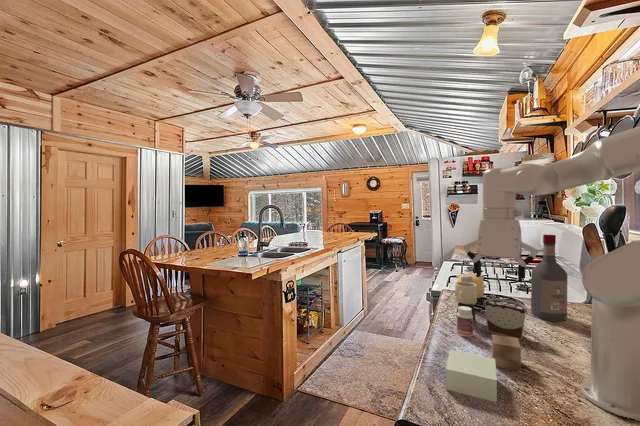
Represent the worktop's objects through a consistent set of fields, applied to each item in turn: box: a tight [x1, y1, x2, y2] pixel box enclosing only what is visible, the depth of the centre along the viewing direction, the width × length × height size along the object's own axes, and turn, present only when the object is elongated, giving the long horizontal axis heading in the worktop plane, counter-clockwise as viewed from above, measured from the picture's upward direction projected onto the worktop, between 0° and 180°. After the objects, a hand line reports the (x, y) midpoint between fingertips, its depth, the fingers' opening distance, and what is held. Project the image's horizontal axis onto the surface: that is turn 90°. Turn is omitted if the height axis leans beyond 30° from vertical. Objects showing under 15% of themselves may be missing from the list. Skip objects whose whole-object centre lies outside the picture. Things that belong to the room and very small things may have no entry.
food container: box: [482, 298, 529, 340], centre depth 99 cm, size 12×6×10 cm, turn 47°
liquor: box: [530, 234, 568, 322], centre depth 111 cm, size 9×9×30 cm
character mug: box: [454, 281, 478, 322], centre depth 109 cm, size 11×7×13 cm, turn 135°
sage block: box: [445, 349, 498, 403], centre depth 71 cm, size 10×10×5 cm
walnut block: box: [491, 333, 522, 372], centre depth 80 cm, size 6×6×6 cm
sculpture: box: [455, 272, 485, 299], centre depth 136 cm, size 11×12×11 cm
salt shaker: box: [461, 275, 475, 307], centre depth 122 cm, size 6×6×13 cm
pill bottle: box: [456, 306, 474, 338], centre depth 98 cm, size 5×5×8 cm
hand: (498, 278), depth 82 cm, fingers open, 9 cm apart
